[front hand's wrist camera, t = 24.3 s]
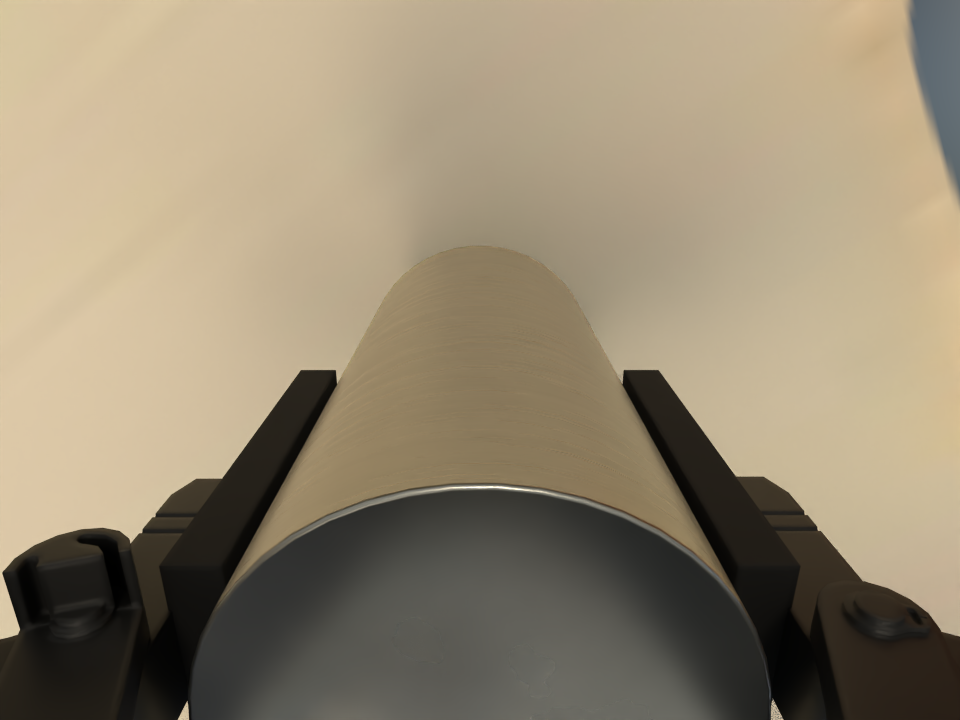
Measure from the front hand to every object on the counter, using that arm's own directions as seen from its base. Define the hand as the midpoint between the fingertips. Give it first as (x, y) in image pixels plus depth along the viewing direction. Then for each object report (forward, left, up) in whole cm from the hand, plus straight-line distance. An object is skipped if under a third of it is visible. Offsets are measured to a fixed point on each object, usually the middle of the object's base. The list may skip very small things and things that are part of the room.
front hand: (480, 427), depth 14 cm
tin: (0, 0, -4) cm, 4 cm away
